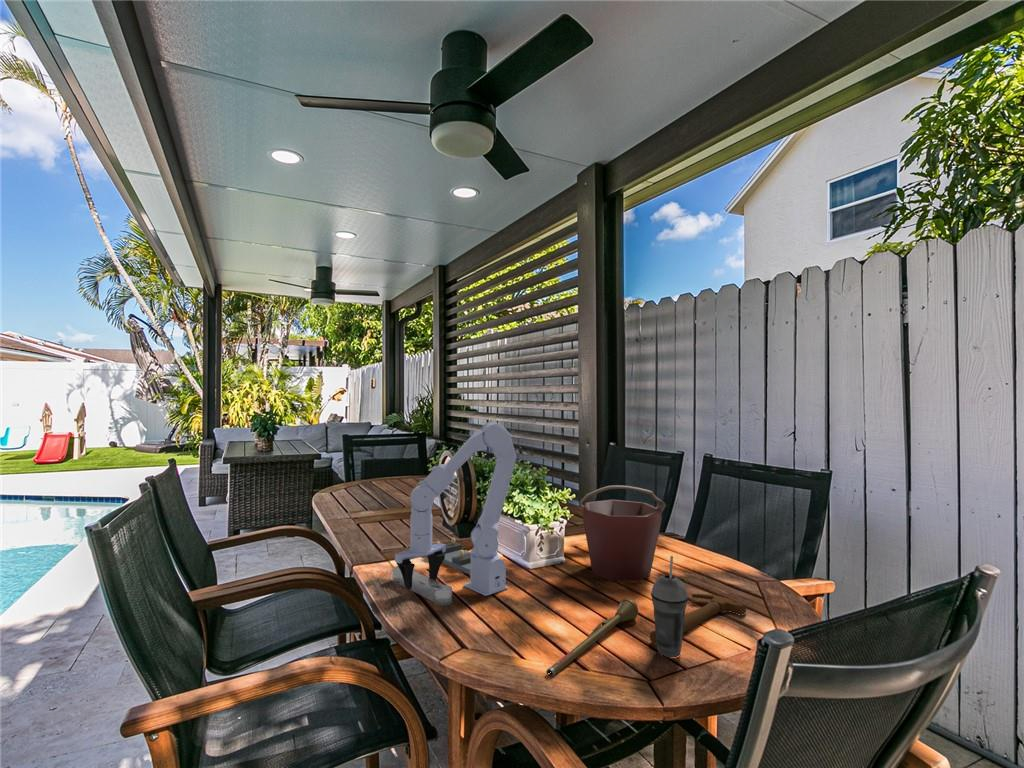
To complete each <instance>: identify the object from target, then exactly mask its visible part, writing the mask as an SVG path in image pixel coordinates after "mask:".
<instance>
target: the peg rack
mask: <svg viewBox="0 0 1024 768" xmlns="http://www.w3.org/2000/svg"><path fill="white" fill-rule="evenodd" d="M450 540H451V541H450V543H449V542H448V543H445V545H446V552H442V553H443V554H445V559H444V560H443V562H442V563H443V565H446V566H448V567H450V568H452V569H455V570H456V571H460V572H462V573H465V574H467V575H470V574H471V551H467V550H464V549H463V544H461V543H459V542H456V538H455V537H451V539H450ZM440 543H441V541H438V540H437V541H436V542H435V544H440ZM426 558H428V556H427V557H426Z"/></svg>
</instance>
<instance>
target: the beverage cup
mask: <svg viewBox="0 0 1024 768" xmlns="http://www.w3.org/2000/svg"><path fill="white" fill-rule="evenodd" d="M669 559H670V561H669V562H670V563H669V574H665V575H662V576H660V577H658V578H657V579H656V580H655V581H654V583H653V585H652V589H651V592H650V595H651V601H652V606H653V616H654V617H653V618H654V629H655V631H656V644H657V645H656V644H655V645H656V647H657V650H658V652H659V653H660V654H661V655H664V656H667V657H677V656H679V655H680V656H681V654H680V653H681V652H682V646H683V636H684V635H683V634H684V633H683V627H684V617H685V615H686V609H687V604H688V600H689V596H688V591H687V589H686V586H685V584H684V582H683V581H682V580H680V578H679V577H677V576H674V575H673V563H674V556H673V555H670V558H669ZM658 652H657V653H658ZM661 655H660V656H661Z"/></svg>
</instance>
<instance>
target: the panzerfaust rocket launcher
mask: <svg viewBox="0 0 1024 768" xmlns="http://www.w3.org/2000/svg"><path fill="white" fill-rule="evenodd" d="M638 615H639V607H638V603H637V602H636V601H634V600H631V599H628V598H626V599H622V600H621V601H620V602H619V603H618V608H617V610H616V612H615V613H614V616H612V617H610V618H608V619H604V620H603V621H601V622H600V623H598V624H597V625H596V626H595V627H594V628H593V629H592V632H590V634H589V635H587V637H586V638H585V639H584V640H583V641H581V642H580V643H579V644H578V645H576V646H575V647H574V648H573V649H572V650H570V651H569V652H567V654H565V655H563V656H562V657H561V658H559V660H558V661H557V662H555V663H554V664H553V665H552V666H550V667H548V668H547V669H546V671H545V673H546V675H547V674H548V673H550V672H552V673H551V674H552V676H554V675H555V674H556V673H557V674H558V673H559V672H561V671H562V670H563V669H564V668H565V667H566V666H568V665H569V664H570V663H571V662H573V661H574V660H575V659H576V658H578V657H579V656H580V655H581V654H582V653H583V652H585V651H586V650H587V649H588V648H589V647H591V646H592V645H594V643H596V642H597V641H598V640H599V639H601V638H602V637H603V636H604V635H606V634H607V632H610V630H612V629H613V628H614V627H615V626H616V625H617V624H618V623H624V622H628V621H635V620H636V619H637V617H638ZM557 674H556V675H557ZM556 675H555V676H556ZM552 676H551V677H552ZM555 676H554V677H555Z"/></svg>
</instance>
